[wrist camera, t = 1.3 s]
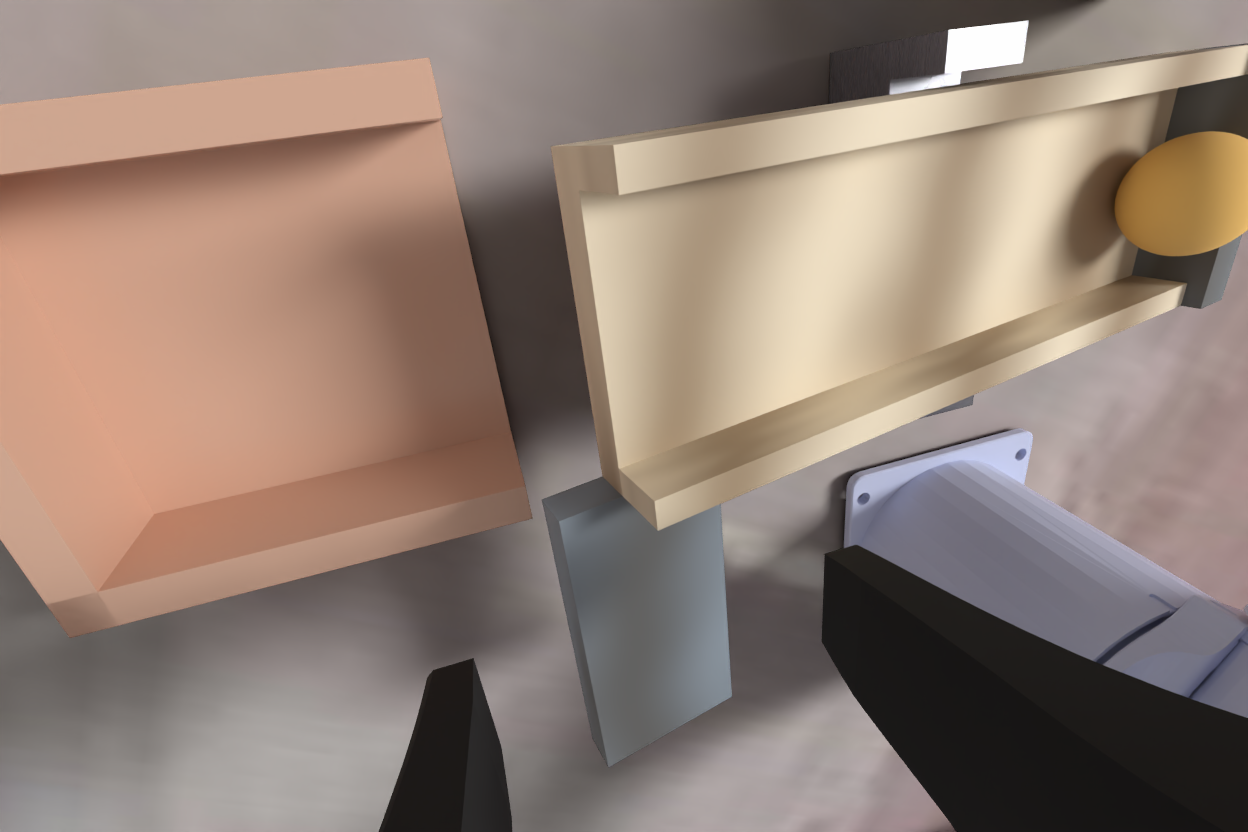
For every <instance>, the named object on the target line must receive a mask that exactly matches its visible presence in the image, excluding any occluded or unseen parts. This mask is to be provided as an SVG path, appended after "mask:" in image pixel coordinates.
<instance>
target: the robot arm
mask: <svg viewBox="0 0 1248 832" xmlns="http://www.w3.org/2000/svg"><path fill="white" fill-rule="evenodd" d="M1032 442H1033V436H1032V434H1031V433H1030V432H1028V431H1026V430H1024V429H1022V428H1018V429H1014V430H1010V431H1007V432H1003V433H999V434H996V435H992V436H988V437H984V438H981V439H977V440H973V441H970V442H966V443H962V444H959V445H955V446H951V447H948V448H944V449H940V450H937V451H933V452H929V453H926V454H922V455H918V456H915V457H911V458H907V459H904V460H900V461H896V462H893V463H889V464H885V465H881V466H878V467H874V468H870V469H867V470H863V471H859V472H857V473H855V474H854V475H853V476H851V478H850V479H849V481H848V483H847V493H846V513H845V533H844V548H843V549H840V550H836V551H833V552H829V553H826V554H825V561H824V591H823V622H822V643H823V644H824V646H825V648H826V650H827V651H828V653H829V655H830V657H831V658H832V660H833V662H834V664H835V665H836V667H837V669H838V671H839V672H840V674H841V676H842V677H843V679H844V680H845V682H846V684H847V685H848V687H849V689H850V690H851V692H852V694H853V695H854V697H855V698H856V699H857V701H858V702H859V703H860V705H861V706H862V708H863V709H864V710H865V712H866V713H867V714H868V716H869V717H870V718H871V720H872V721H873V722H874V723H875V725H876V726H877V727H878V729H879V730H880V731H881V733H882V734H883V735H884V737H885V738H886V739H887V741H888V742H889V743H890V745H891V746H892V747H893V748H894V750H895V751H896V752H897V754H898V755H899V756H900V758H901V759H902V760H903V761H904V763H905V764H906V765H907V767H908V768H909V769H910V771H911V772H912V773H913V775H914V776H915V777H916V778H917V780H918V781H919V782H920V784H921V785H922V786H923V788H924V789H925V790H926V791H927V793H928V794H929V795H930V797H931V798H932V799H933V801H934V802H935V803H936V805H937V806H938V807H939V808H940V810H941V811H942V812H943V814H944V815H945V816H946V818H947V819H948V820H949V821H950V823H951V824H952V826H953V827H954V828H955V830H956V831H957V832H1248V604H1247V605H1246V606H1245V607H1244V611H1242V610H1240V609H1237V608H1234V607H1231V606H1228V605H1226V604H1223V603H1220V602H1219V601H1217V600H1215V599H1214V598H1212V597H1210V596H1209V595H1207V594H1205V593H1204V592H1202V591H1200V590H1199V589H1197V588H1195V587H1194V586H1192V585H1190V584H1189V583H1187V582H1185V581H1184V580H1182V579H1180V578H1179V577H1177V576H1175V575H1174V574H1172V573H1170V572H1168V571H1167V570H1165V569H1163V568H1162V567H1160V566H1158V565H1157V564H1155V563H1153V562H1152V561H1150V560H1148V559H1147V558H1145V557H1143V556H1142V555H1140V554H1138V553H1137V552H1135V551H1133V550H1132V549H1130V548H1128V547H1127V546H1125V545H1123V544H1122V543H1120V542H1118V541H1117V540H1115V539H1113V538H1112V537H1110V536H1108V535H1107V534H1105V533H1103V532H1102V531H1100V530H1098V529H1097V528H1095V527H1093V526H1092V525H1090V524H1088V523H1087V522H1085V521H1083V520H1082V519H1080V518H1078V517H1077V516H1075V515H1073V514H1072V513H1070V512H1068V511H1067V510H1065V509H1063V508H1062V507H1060V506H1058V505H1057V504H1055V503H1053V502H1052V501H1050V500H1048V499H1046V498H1045V497H1043V496H1041V495H1040V494H1038V493H1036V492H1035V491H1033V490H1031V489H1030V488H1028V487H1026V486H1025V485H1024V481H1025V476H1026V471H1027V466H1028V462H1029V457H1030V452H1031V447H1032ZM861 494H863V495H862V496H861V497H860V498H859V499H858V497H859V496H860V495H861ZM379 832H512V818H511V810H510V803H509V796H508V789H507V782H506V775H505V769H504V762H503V755H502V749H501V744H500V741H499V738H498V735H497V732H496V728H495V725H494V722H493V719H492V716H491V713H490V709H489V706H488V703H487V700H486V697H485V693H484V690H483V687H482V684H481V681H480V678H479V674H478V671H477V668H476V665H475V662H474V659H469V660H466V661H463V662H459V663H456V664H453V665H449V666H446V667H442V668H439V669H436V670H433V671H432V672H431V674H430V675H429V676H428V678H427V681H426V686H425V690H424V694H423V698H422V702H421V706H420V709H419V713H418V717H417V720H416V724H415V727H414V730H413V734H412V737H411V740H410V743H409V746H408V750H407V753H406V756H405V759H404V762H403V765H402V768H401V771H400V774H399V776H398V779H397V782H396V785H395V788H394V791H393V793H392V796H391V799H390V802H389V805H388V808H387V810H386V813H385V816H384V819H383V821H382V824H381V827H380V829H379Z"/></svg>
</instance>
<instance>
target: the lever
mask: <svg viewBox="0 0 1248 832" xmlns="http://www.w3.org/2000/svg"><path fill="white" fill-rule="evenodd" d="M1208 131H1216V132H1226V133H1232V134H1235V135H1239V136H1241V137H1244V138H1246V139H1248V44H1239V45H1230V46H1221V47H1212V48H1203V49H1194V50H1185V51H1176V52H1167V53H1161V54H1154V55H1148V56H1141V57H1135V58H1128V59H1121V60H1115V61H1108V62H1102V63H1095V64H1089V65H1082V66H1075V67H1069V68H1062V69H1056V70H1049V71H1043V72H1036V73H1030V74H1023V75H1016V76H1010V77H1003V78H997V79H990V80H984V81H977V82H970V83H964V84H957V85H951V86H944V87H938V88H931V89H925V90H918V91H911V92H905V93H898V94H892V95H885V96H879V97H872V98H865V99H859V100H852V101H846V102H839V103H833V104H826V105H819V106H813V107H806V108H800V109H793V110H787V111H780V112H774V113H767V114H760V115H754V116H747V117H741V118H734V119H728V120H721V121H714V122H708V123H701V124H695V125H688V126H682V127H675V128H668V129H662V130H655V131H649V132H642V133H636V134H629V135H623V136H616V137H609V138H603V139H596V140H590V141H583V142H577V143H570V144H563V145H557V146H551V152H552V158H553V164H554V171H555V177H556V183H557V190H558V196H559V202H560V209H561V215H562V222H563V228H564V234H565V241H566V247H567V253H568V260H569V266H570V272H571V279H572V285H573V292H574V298H575V304H576V311H577V317H578V323H579V330H580V336H581V342H582V349H583V355H584V362H585V368H586V374H587V381H588V387H589V393H590V400H591V406H592V412H593V419H594V425H595V432H596V438H597V444H598V451H599V457H600V463H601V470H602V476H603V477H600V478H597V479H595V480H592V481H590V482H587V483H584V484H582V485H579V486H576V487H574V488H571V489H568V490H566V491H563V492H560V493H558V494H555V495H553V496H550V497H547V498H545V499H542V503H543V507H544V512H545V517H546V521H547V526H548V531H549V535H550V540H551V545H552V550H553V554H554V559H555V564H556V568H557V573H558V578H559V582H560V587H561V592H562V597H563V601H564V606H565V611H566V615H567V620H568V625H569V630H570V634H571V639H572V644H573V648H574V653H575V658H576V662H577V667H578V672H579V677H580V681H581V686H582V691H583V695H584V700H585V705H586V709H587V714H588V719H589V724H590V728H591V733H592V738H593V740H594V742H595V744H596V745H597V747H598V749H599V751H600V753H601V755H602V756H603V758H604V760H605V762H606V764H607V766H608V767H610V766H612V765H614V764H616V763H617V762H619V761H621V760H623V759H624V758H626V757H628V756H630V755H631V754H633V753H635V752H637V751H638V750H640V749H642V748H643V747H645V746H647V745H649V744H650V743H652V742H654V741H656V740H657V739H659V738H661V737H663V736H664V735H666V734H668V733H670V732H671V731H673V730H675V729H677V728H678V727H680V726H682V725H683V724H685V723H687V722H689V721H690V720H692V719H694V718H696V717H697V716H699V715H701V714H703V713H704V712H706V711H708V710H710V709H711V708H713V707H715V706H716V705H718V704H720V703H722V702H723V701H725V700H727V699H729V698H730V697H732V691H731V674H730V657H729V640H728V623H727V606H726V589H725V572H724V555H723V538H722V521H721V503H724V502H726V501H728V500H731V499H733V498H735V497H738V496H740V495H742V494H745V493H747V492H749V491H751V490H754V489H756V488H758V487H761V486H763V485H765V484H768V483H770V482H772V481H775V480H777V479H779V478H782V477H784V476H786V475H789V474H791V473H793V472H796V471H798V470H800V469H803V468H805V467H807V466H810V465H812V464H814V463H816V462H819V461H821V460H823V459H826V458H828V457H830V456H833V455H835V454H837V453H840V452H842V451H844V450H847V449H849V448H851V447H854V446H856V445H858V444H861V443H863V442H865V441H868V440H870V439H872V438H874V437H877V436H879V435H881V434H884V433H886V432H888V431H891V430H893V429H895V428H898V427H900V426H902V425H905V424H907V423H909V422H912V421H914V420H916V419H919V418H921V417H923V416H926V415H928V414H930V413H933V412H935V411H937V410H939V409H942V408H944V407H946V406H949V405H951V404H953V403H956V402H958V401H960V400H963V399H965V398H967V397H970V396H972V395H974V394H977V393H979V392H981V391H984V390H986V389H988V388H991V387H993V386H995V385H998V384H1000V383H1002V382H1004V381H1007V380H1009V379H1011V378H1014V377H1016V376H1018V375H1021V374H1023V373H1025V372H1028V371H1030V370H1032V369H1035V368H1037V367H1039V366H1042V365H1044V364H1046V363H1049V362H1051V361H1053V360H1056V359H1058V358H1060V357H1062V356H1065V355H1067V354H1069V353H1072V352H1074V351H1076V350H1079V349H1081V348H1083V347H1086V346H1088V345H1090V344H1093V343H1095V342H1097V341H1100V340H1102V339H1104V338H1107V337H1109V336H1111V335H1114V334H1116V333H1118V332H1121V331H1123V330H1125V329H1127V328H1130V327H1132V326H1134V325H1137V324H1139V323H1141V322H1144V321H1146V320H1148V319H1151V318H1153V317H1155V316H1158V315H1160V314H1162V313H1165V312H1167V311H1169V310H1172V309H1174V308H1176V307H1179V306H1187V307H1193V308H1199V309H1201V308H1204V307H1206V306H1208V305H1210V304H1213V303H1215V302H1217V301H1219V300H1221V299H1222V296H1223V293H1224V290H1225V287H1226V284H1227V281H1228V278H1229V274H1230V271H1231V268H1232V265H1233V262H1234V259H1235V256H1236V252H1237V249H1238V246H1239V243H1240V240H1241V237H1242V235H1240V236H1239V237H1237V238H1236V239H1234V240H1232V241H1231V242H1229V243H1227V244H1225V245H1223V246H1221V247H1219V248H1216V249H1213V250H1211V251H1208V252H1204V253H1200V254H1195V255H1189V256H1164V255H1158V254H1154V253H1151V252H1148V251H1146V250H1143V249H1141V248H1139V247H1137V246H1136V245H1134V244H1133V243H1132V242H1130V241H1129V240H1128V239H1127V238H1126V237H1125V236H1124V234H1123V233H1122V232H1121V230H1120V228H1119V226H1118V224H1117V221H1116V217H1115V210H1114V208H1115V198H1116V194H1117V191H1118V188H1119V186H1120V184H1121V182H1122V180H1123V178H1124V177H1125V175H1126V174H1127V173H1128V171H1129V170H1130V169H1131V167H1132V166H1133V165H1134V164H1135V163H1136V162H1137V161H1138V160H1139V159H1141V158H1142V157H1143V156H1144V155H1145V154H1147V153H1148V152H1149V151H1151V150H1152V149H1154V148H1156V147H1157V146H1159V145H1161V144H1163V143H1165V142H1167V141H1169V140H1172V139H1174V138H1177V137H1180V136H1184V135H1187V134H1192V133H1198V132H1208Z"/></svg>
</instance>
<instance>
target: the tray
mask: <svg viewBox="0 0 1248 832" xmlns="http://www.w3.org/2000/svg"><path fill="white" fill-rule="evenodd" d="M442 118H443V117H442V112H441V108H440V103H439V99H438V94H437V90H436V85H435V81H434V77H433V72H432V68H431V63H430V59H429V58H422V59H412V60H403V61H394V62H385V63H376V64H367V65H358V66H349V67H340V68H330V69H321V70H312V71H303V72H294V73H285V74H276V75H267V76H257V77H248V78H239V79H230V80H221V81H212V82H203V83H194V84H185V85H175V86H166V87H157V88H148V89H139V90H130V91H121V92H112V93H102V94H93V95H84V96H75V97H66V98H57V99H48V100H39V101H30V102H20V103H11V104H2V105H0V540H1V541H2V543H3V544H4V545H5V547H6V548H7V550H8V551H9V552H10V554H11V555H12V557H13V558H14V560H15V561H16V562H17V564H18V565H19V567H20V568H21V570H22V571H23V572H24V574H25V575H26V577H27V578H28V579H29V581H30V582H31V584H32V585H33V587H34V588H35V589H36V591H37V592H38V594H39V595H40V596H41V598H42V599H43V601H44V602H45V604H46V605H47V606H48V608H49V609H50V611H51V612H52V614H53V615H54V616H55V618H56V619H57V621H58V622H59V623H60V625H61V626H62V628H63V629H64V631H65V632H66V633H67V635H68V636H69V638H72V637H76V636H80V635H84V634H88V633H92V632H96V631H99V630H103V629H107V628H111V627H115V626H119V625H123V624H127V623H130V622H134V621H138V620H142V619H146V618H150V617H154V616H157V615H161V614H165V613H169V612H173V611H177V610H181V609H185V608H188V607H192V606H196V605H200V604H204V603H208V602H212V601H215V600H219V599H223V598H227V597H231V596H235V595H239V594H243V593H246V592H250V591H254V590H258V589H262V588H266V587H270V586H273V585H277V584H281V583H285V582H289V581H293V580H297V579H301V578H304V577H308V576H312V575H316V574H320V573H324V572H328V571H331V570H335V569H339V568H343V567H347V566H351V565H355V564H359V563H362V562H366V561H370V560H374V559H378V558H382V557H386V556H389V555H393V554H397V553H401V552H405V551H409V550H413V549H417V548H420V547H424V546H428V545H432V544H436V543H440V542H444V541H447V540H451V539H455V538H459V537H463V536H467V535H471V534H475V533H478V532H482V531H486V530H490V529H494V528H498V527H502V526H505V525H509V524H513V523H517V522H521V521H525V520H529V519H533V518H532V514H531V509H530V505H529V500H528V496H527V491H526V487H525V483H524V479H523V475H522V471H521V468H520V464H519V460H518V456H517V452H516V448H515V445H514V441H513V437H512V433H511V429H510V425H509V420H508V416H507V411H506V407H505V402H504V398H503V394H502V389H501V385H500V380H499V376H498V371H497V367H496V363H495V358H494V354H493V349H492V345H491V340H490V336H489V332H488V327H487V323H486V318H485V314H484V309H483V305H482V301H481V296H480V292H479V287H478V283H477V278H476V274H475V270H474V265H473V261H472V256H471V252H470V247H469V243H468V239H467V234H466V230H465V225H464V221H463V217H462V212H461V208H460V203H459V199H458V194H457V190H456V186H455V181H454V177H453V172H452V168H451V163H450V159H449V155H448V150H447V146H446V141H445V137H444V132H443V128H442V124H441V119H442Z"/></svg>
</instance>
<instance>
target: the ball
mask: <svg viewBox="0 0 1248 832" xmlns="http://www.w3.org/2000/svg"><path fill="white" fill-rule="evenodd" d="M1114 210H1115V217H1116V221H1117V224H1118V226H1119V228H1120V230H1121V232H1122V233H1123V234H1124V236H1125V237H1126V238H1127V239H1128V240H1129V241H1130V242H1132V243H1133V244H1134V245H1136V246H1137V247H1139V248H1141V249H1143V250H1146V251H1148V252H1151V253H1154V254H1158V255H1164V256H1189V255H1195V254H1200V253H1204V252H1208V251H1211V250H1213V249H1216V248H1219V247H1221V246H1223V245H1225V244H1227V243H1229V242H1231V241H1232V240H1234V239H1236V238H1237V237H1239V236H1240V235H1242V234H1243V233H1244V232H1245V231H1247V230H1248V139H1246V138H1244V137H1241V136H1239V135H1235V134H1232V133H1226V132H1216V131H1208V132H1198V133H1192V134H1187V135H1184V136H1180V137H1177V138H1174V139H1172V140H1169V141H1167V142H1165V143H1163V144H1161V145H1159V146H1157V147H1156V148H1154V149H1152V150H1151V151H1149V152H1148V153H1147V154H1145V155H1144V156H1143V157H1142V158H1141V159H1139V160H1138V161H1137V162H1136V163H1135V164H1134V165H1133V166H1132V167H1131V169H1130V170H1129V171H1128V173H1127V174H1126V175H1125V177H1124V178H1123V180H1122V182H1121V184H1120V186H1119V188H1118V191H1117V194H1116V198H1115V208H1114Z"/></svg>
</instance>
